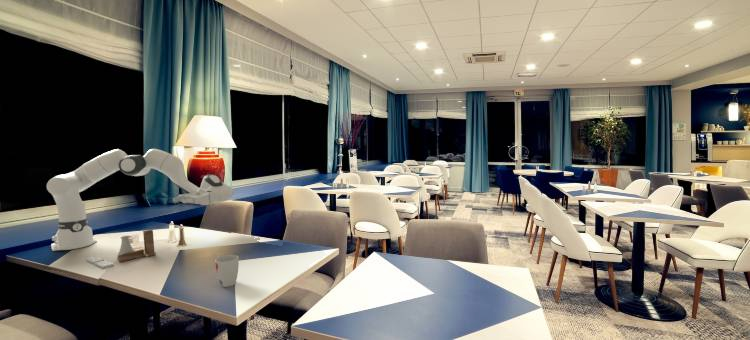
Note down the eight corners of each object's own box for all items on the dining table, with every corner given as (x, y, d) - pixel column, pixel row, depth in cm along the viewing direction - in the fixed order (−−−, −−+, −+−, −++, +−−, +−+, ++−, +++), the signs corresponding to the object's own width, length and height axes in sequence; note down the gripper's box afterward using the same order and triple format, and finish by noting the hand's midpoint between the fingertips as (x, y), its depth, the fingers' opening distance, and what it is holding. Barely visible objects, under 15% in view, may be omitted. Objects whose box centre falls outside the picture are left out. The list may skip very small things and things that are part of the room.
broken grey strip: (86, 260, 166) (86, 258, 166) (96, 258, 169) (96, 256, 169) (102, 268, 155) (102, 266, 155) (113, 265, 158) (113, 263, 158)
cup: (221, 280, 138) (219, 255, 138) (242, 279, 139) (241, 254, 138) (213, 289, 130) (211, 262, 129) (236, 287, 131) (234, 261, 130)
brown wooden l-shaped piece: (105, 255, 172) (103, 231, 171) (137, 247, 184) (135, 225, 183) (122, 262, 161) (120, 236, 160) (155, 254, 172) (153, 229, 171)
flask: (139, 254, 173) (137, 234, 173) (127, 259, 166) (126, 238, 165) (125, 254, 174) (124, 234, 173) (113, 259, 167) (111, 238, 166)
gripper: (193, 189, 199) (167, 193, 187) (214, 192, 187) (188, 195, 176) (194, 201, 199) (168, 205, 188) (215, 203, 188) (189, 208, 176)
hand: (178, 200), depth 182 cm, fingers open, 8 cm apart
